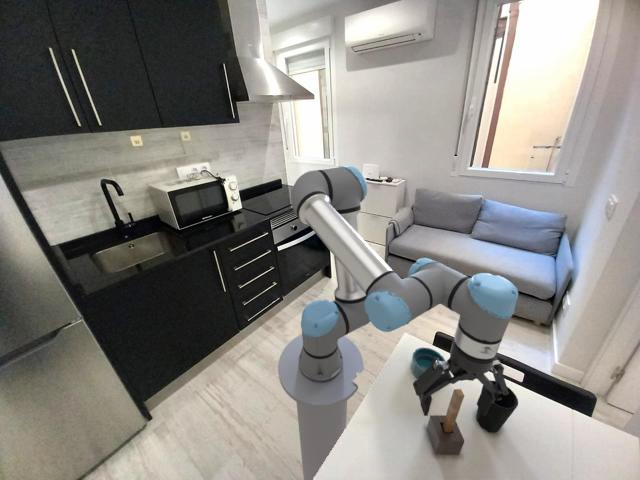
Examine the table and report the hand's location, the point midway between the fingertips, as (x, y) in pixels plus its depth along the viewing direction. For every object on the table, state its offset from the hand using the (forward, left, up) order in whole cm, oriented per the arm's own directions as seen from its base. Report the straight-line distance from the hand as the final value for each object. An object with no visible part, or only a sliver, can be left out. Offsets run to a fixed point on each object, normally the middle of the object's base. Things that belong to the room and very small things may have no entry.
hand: (452, 409), depth 61 cm
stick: (0, 0, -13) cm, 13 cm away
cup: (+7, +14, -13) cm, 20 cm away
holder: (0, 0, -13) cm, 13 cm away
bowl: (-12, +17, -13) cm, 25 cm away
